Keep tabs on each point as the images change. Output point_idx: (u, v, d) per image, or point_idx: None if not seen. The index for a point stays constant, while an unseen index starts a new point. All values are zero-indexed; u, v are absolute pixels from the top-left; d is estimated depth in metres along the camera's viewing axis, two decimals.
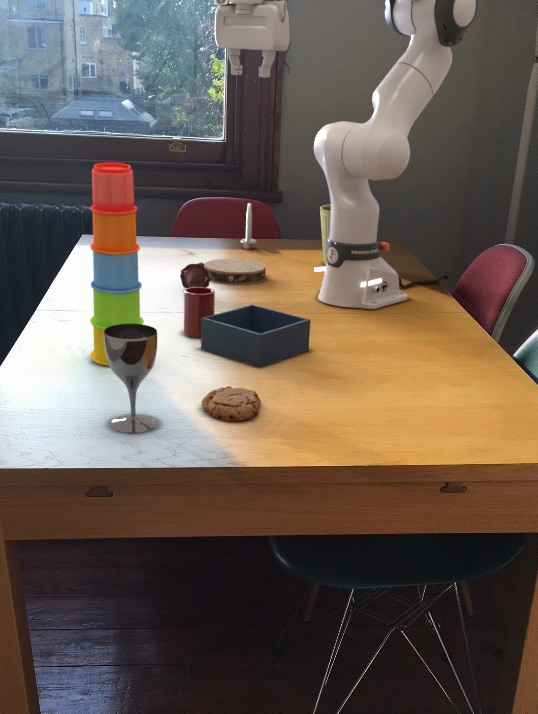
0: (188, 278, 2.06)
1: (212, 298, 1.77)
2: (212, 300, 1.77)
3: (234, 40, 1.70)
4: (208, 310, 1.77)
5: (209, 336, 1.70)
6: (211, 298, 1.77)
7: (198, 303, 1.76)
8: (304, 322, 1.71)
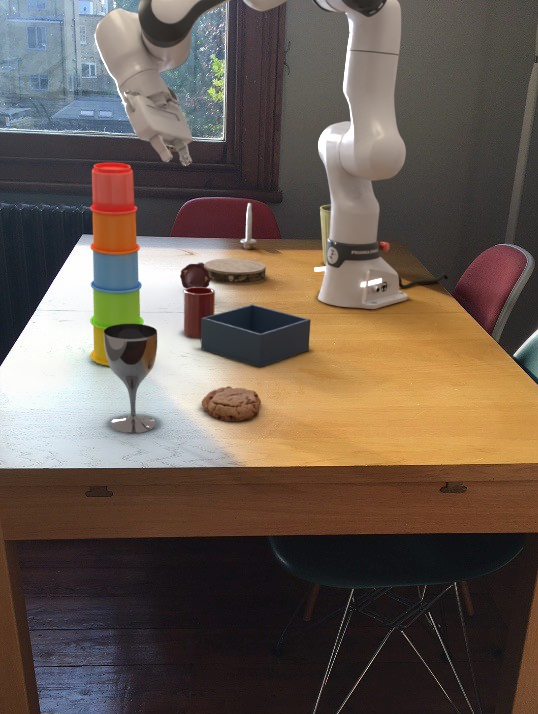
0: (188, 278, 2.06)
1: (212, 298, 1.77)
2: (212, 300, 1.77)
3: None
4: (208, 310, 1.77)
5: (209, 336, 1.70)
6: (211, 298, 1.77)
7: (198, 303, 1.76)
8: (304, 322, 1.71)
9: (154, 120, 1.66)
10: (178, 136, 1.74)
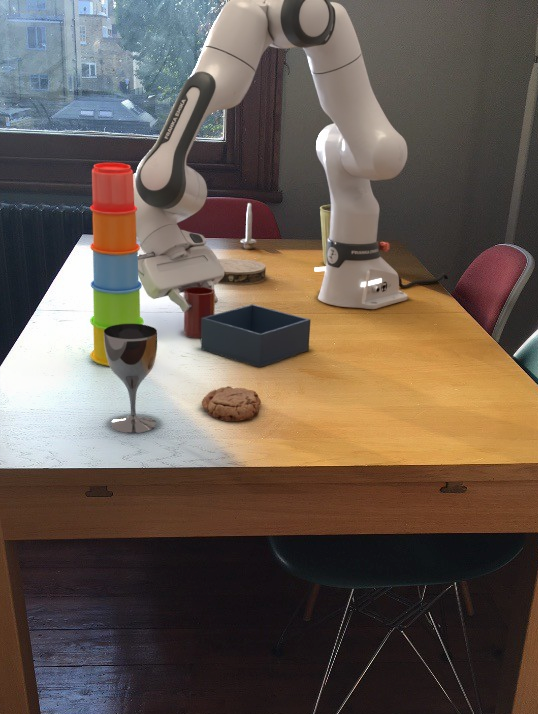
0: None
1: (212, 298, 1.77)
2: (212, 300, 1.77)
3: None
4: (208, 310, 1.77)
5: (209, 336, 1.70)
6: (211, 298, 1.77)
7: (198, 303, 1.76)
8: (304, 322, 1.71)
9: (165, 277, 1.74)
10: (201, 280, 1.80)
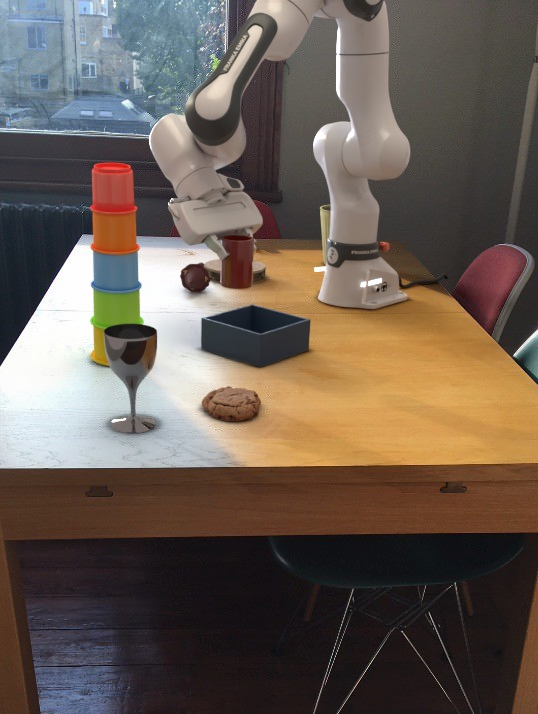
0: (188, 278, 2.06)
1: (251, 246, 1.66)
2: (251, 248, 1.66)
3: None
4: (247, 258, 1.66)
5: (209, 336, 1.70)
6: (250, 245, 1.66)
7: (237, 251, 1.65)
8: (304, 322, 1.71)
9: (202, 222, 1.63)
10: (239, 227, 1.69)
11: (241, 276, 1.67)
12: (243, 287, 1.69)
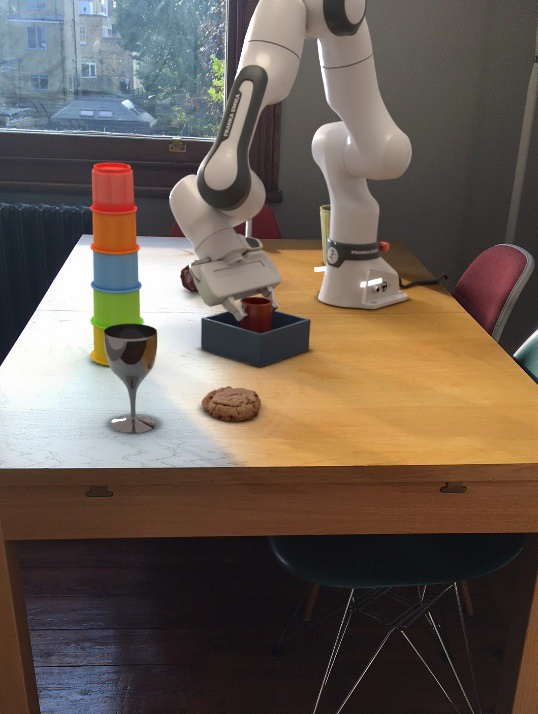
0: (188, 278, 2.06)
1: (270, 309, 1.68)
2: (270, 311, 1.69)
3: None
4: (266, 321, 1.69)
5: (209, 336, 1.70)
6: (269, 309, 1.68)
7: (256, 314, 1.67)
8: (304, 322, 1.71)
9: (223, 284, 1.65)
10: (258, 287, 1.71)
11: None
12: None
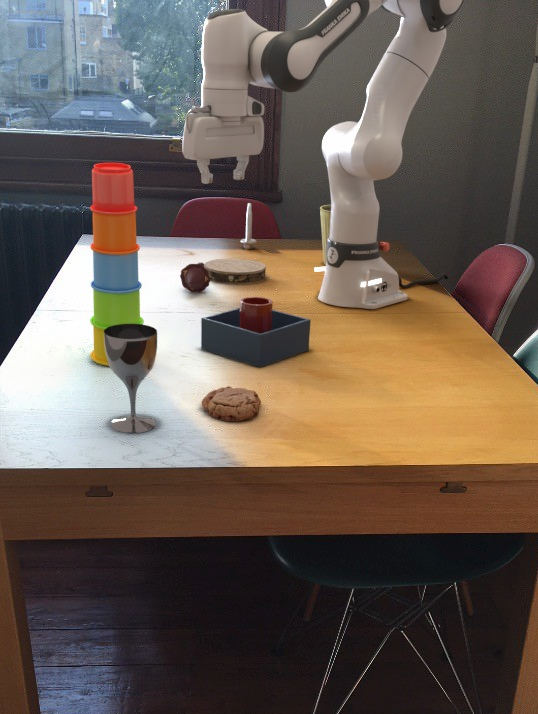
0: (188, 278, 2.06)
1: (270, 309, 1.68)
2: (270, 311, 1.69)
3: None
4: (266, 321, 1.69)
5: (209, 336, 1.70)
6: (269, 309, 1.68)
7: (256, 314, 1.67)
8: (304, 322, 1.71)
9: (207, 146, 1.67)
10: (237, 155, 1.74)
11: None
12: None
